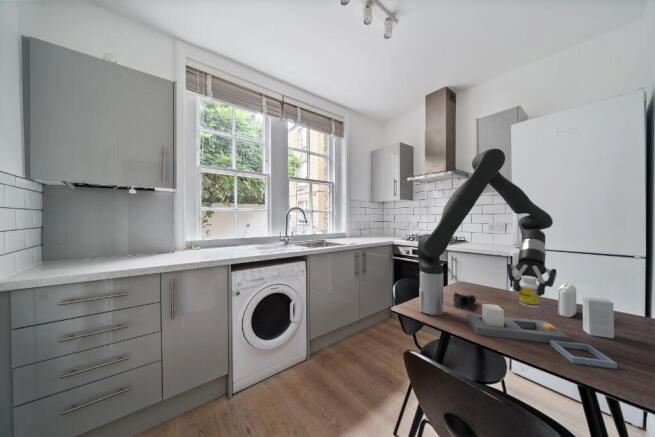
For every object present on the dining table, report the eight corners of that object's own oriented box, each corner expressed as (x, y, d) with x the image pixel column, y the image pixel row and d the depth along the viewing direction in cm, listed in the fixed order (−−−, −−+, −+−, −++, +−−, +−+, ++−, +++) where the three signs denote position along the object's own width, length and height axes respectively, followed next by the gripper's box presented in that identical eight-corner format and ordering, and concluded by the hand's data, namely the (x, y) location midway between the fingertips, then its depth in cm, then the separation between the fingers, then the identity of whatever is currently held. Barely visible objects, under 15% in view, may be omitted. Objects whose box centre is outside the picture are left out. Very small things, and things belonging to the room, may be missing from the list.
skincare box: (605, 333, 81) (605, 298, 81) (614, 338, 77) (614, 302, 77) (581, 329, 83) (581, 296, 83) (589, 335, 79) (589, 300, 79)
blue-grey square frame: (572, 362, 65) (572, 357, 65) (549, 344, 74) (549, 339, 74) (617, 368, 62) (617, 363, 62) (588, 349, 71) (588, 344, 71)
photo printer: (563, 309, 101) (563, 281, 101) (577, 312, 98) (577, 283, 98) (556, 314, 96) (556, 285, 96) (571, 318, 92) (571, 287, 92)
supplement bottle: (515, 302, 84) (514, 275, 84) (528, 301, 84) (528, 274, 84) (529, 308, 79) (529, 279, 78) (544, 307, 79) (543, 278, 79)
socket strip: (476, 334, 81) (476, 311, 81) (466, 319, 92) (466, 299, 92) (569, 345, 73) (569, 320, 73) (546, 327, 85) (546, 305, 85)
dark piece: (471, 315, 100) (478, 308, 108) (475, 298, 99) (482, 292, 108) (449, 305, 106) (457, 300, 115) (453, 289, 105) (460, 285, 114)
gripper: (506, 246, 92) (501, 282, 83) (558, 249, 81) (557, 291, 73) (509, 257, 95) (504, 293, 87) (558, 262, 85) (558, 303, 77)
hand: (528, 292), depth 80 cm, fingers closed on supplement bottle, 5 cm apart
